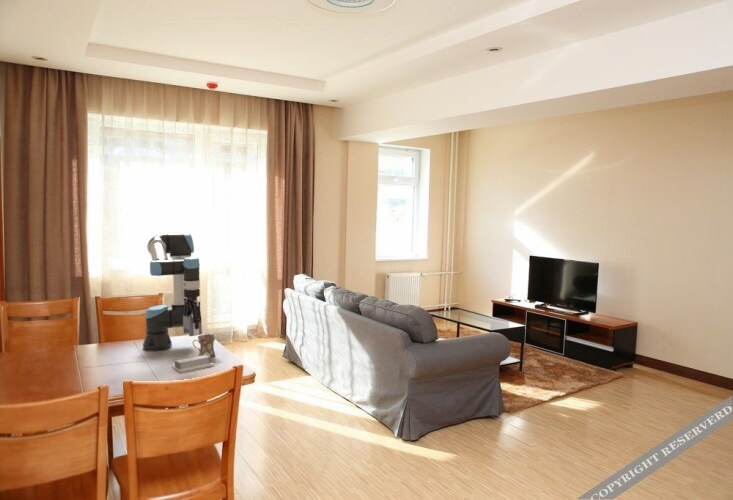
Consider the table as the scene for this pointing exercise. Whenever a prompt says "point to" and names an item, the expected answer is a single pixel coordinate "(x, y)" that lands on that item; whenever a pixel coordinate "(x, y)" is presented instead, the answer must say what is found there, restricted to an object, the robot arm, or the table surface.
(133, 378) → the table surface
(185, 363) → the butter dish
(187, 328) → the module
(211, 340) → the mug
